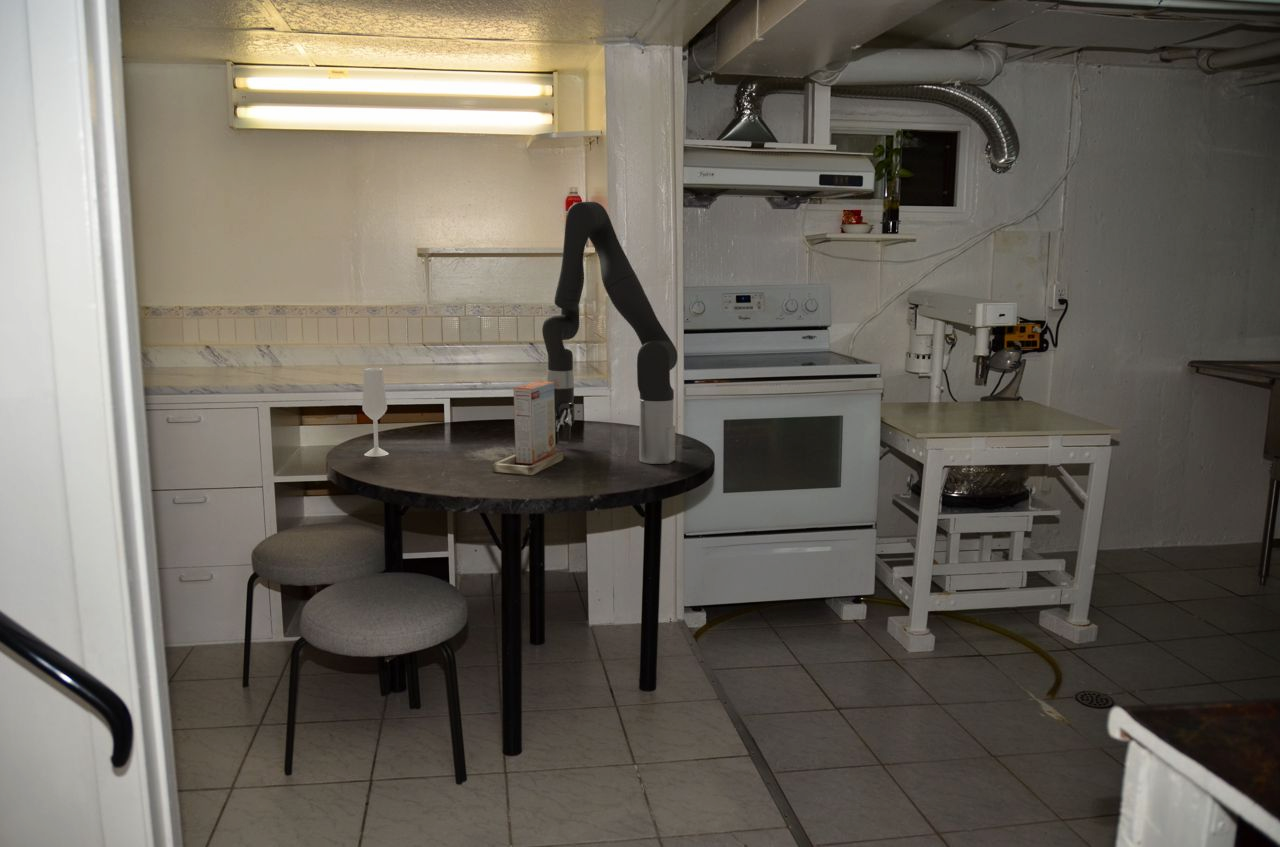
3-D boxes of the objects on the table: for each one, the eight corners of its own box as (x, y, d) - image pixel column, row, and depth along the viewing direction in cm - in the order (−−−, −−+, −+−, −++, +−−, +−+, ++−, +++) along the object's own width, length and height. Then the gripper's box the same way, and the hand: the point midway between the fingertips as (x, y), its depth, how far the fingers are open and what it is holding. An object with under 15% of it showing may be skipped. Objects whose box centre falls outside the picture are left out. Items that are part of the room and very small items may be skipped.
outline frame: (563, 459, 271) (563, 452, 270) (532, 475, 252) (532, 467, 252) (525, 456, 274) (525, 449, 274) (492, 471, 256) (492, 463, 255)
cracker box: (536, 453, 278) (536, 380, 275) (556, 455, 276) (555, 381, 273) (513, 463, 265) (512, 386, 262) (533, 465, 263) (532, 388, 260)
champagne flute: (382, 457, 272) (379, 370, 268) (359, 455, 273) (356, 370, 269) (393, 452, 279) (390, 368, 274) (371, 451, 280) (367, 367, 276)
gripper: (562, 389, 272) (562, 447, 275) (582, 383, 285) (582, 438, 288) (537, 388, 275) (538, 445, 278) (558, 381, 288) (559, 436, 291)
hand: (560, 441), depth 283 cm, fingers open, 8 cm apart
